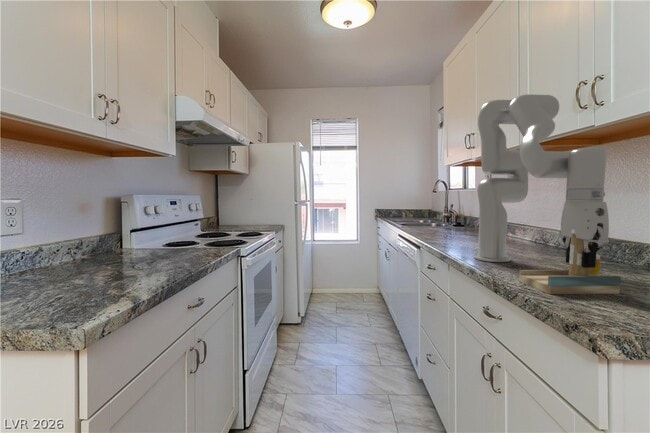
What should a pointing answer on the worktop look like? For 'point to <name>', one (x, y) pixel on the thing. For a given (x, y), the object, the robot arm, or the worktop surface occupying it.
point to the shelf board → (569, 282)
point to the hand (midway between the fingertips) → (579, 264)
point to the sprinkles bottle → (577, 257)
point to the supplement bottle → (596, 269)
